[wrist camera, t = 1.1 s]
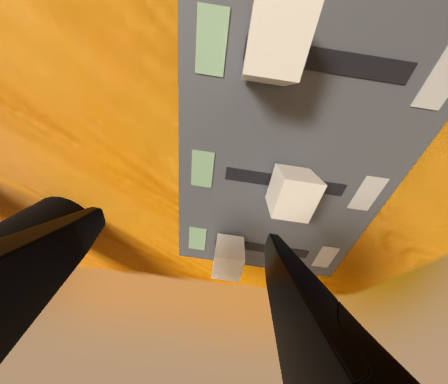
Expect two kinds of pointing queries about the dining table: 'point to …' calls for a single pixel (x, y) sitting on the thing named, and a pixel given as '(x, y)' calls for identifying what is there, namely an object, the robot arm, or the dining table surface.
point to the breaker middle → (293, 193)
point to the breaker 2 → (280, 40)
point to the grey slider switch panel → (305, 122)
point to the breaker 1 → (228, 258)
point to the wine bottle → (38, 215)
